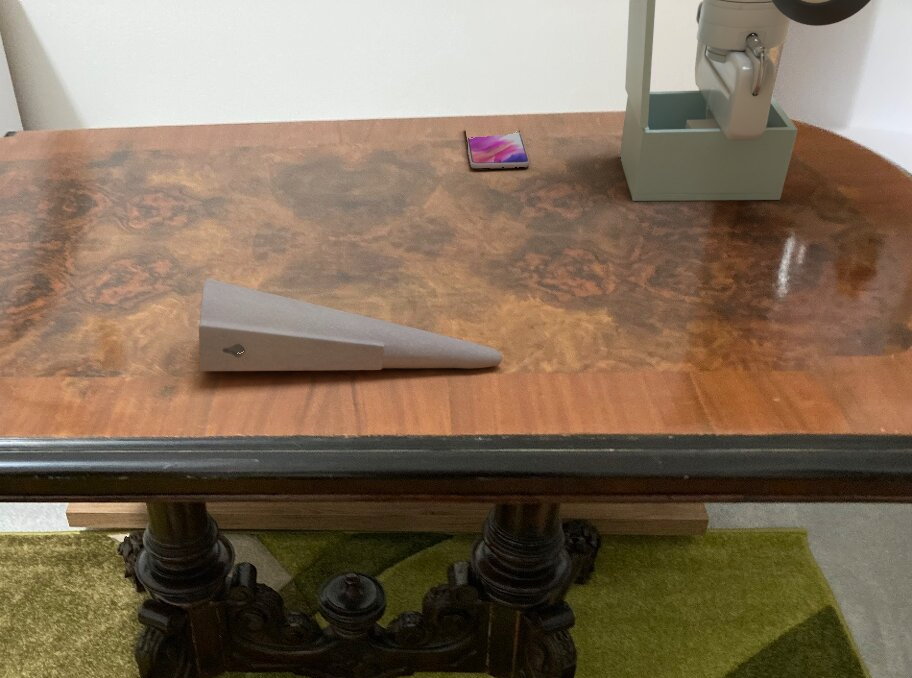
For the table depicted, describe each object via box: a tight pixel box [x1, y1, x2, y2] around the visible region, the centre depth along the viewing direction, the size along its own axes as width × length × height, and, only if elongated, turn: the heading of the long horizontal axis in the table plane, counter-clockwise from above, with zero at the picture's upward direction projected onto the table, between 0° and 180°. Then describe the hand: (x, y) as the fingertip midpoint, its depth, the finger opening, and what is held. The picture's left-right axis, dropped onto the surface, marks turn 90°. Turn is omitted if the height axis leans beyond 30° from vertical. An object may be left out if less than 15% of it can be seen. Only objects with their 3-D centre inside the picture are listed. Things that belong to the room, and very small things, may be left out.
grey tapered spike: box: [198, 277, 503, 372], centre depth 81 cm, size 8×9×26 cm
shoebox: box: [619, 90, 799, 202], centre depth 105 cm, size 16×14×8 cm
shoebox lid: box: [624, 0, 656, 128], centre depth 99 cm, size 16×14×5 cm
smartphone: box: [467, 131, 530, 169], centre depth 119 cm, size 7×1×15 cm
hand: (717, 151), depth 106 cm, fingers closed on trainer, 4 cm apart
